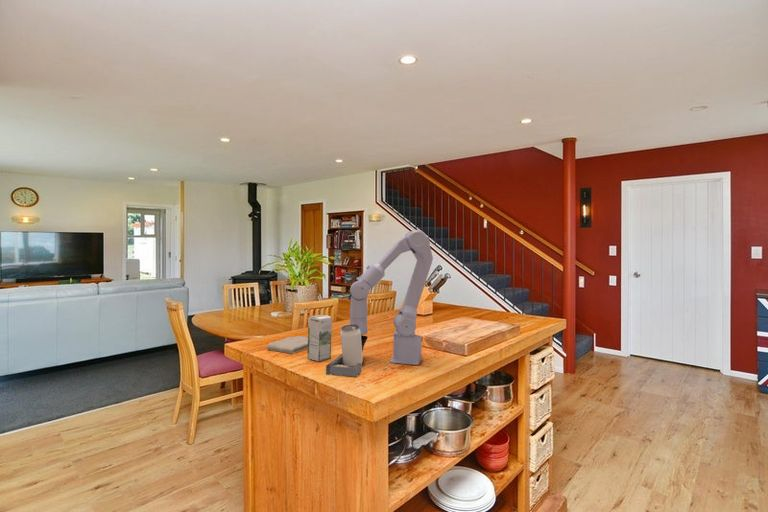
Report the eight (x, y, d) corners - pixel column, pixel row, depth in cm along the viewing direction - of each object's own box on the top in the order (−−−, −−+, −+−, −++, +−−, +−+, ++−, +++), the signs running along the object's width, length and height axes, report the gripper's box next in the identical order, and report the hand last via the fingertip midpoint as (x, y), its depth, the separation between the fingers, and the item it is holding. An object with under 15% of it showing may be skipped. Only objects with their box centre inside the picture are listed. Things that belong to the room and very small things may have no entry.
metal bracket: (373, 359, 134) (373, 350, 134) (356, 377, 115) (356, 367, 115) (347, 356, 136) (347, 348, 136) (326, 374, 117) (326, 364, 117)
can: (360, 367, 123) (357, 332, 121) (340, 366, 125) (337, 331, 122) (365, 357, 130) (362, 323, 127) (346, 357, 131) (343, 323, 128)
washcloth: (322, 345, 154) (322, 337, 154) (292, 356, 137) (292, 347, 137) (297, 341, 159) (297, 333, 159) (266, 351, 143) (266, 343, 143)
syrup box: (319, 355, 137) (320, 314, 137) (331, 358, 133) (332, 316, 133) (307, 358, 133) (307, 316, 132) (318, 362, 129) (319, 318, 129)
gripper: (354, 313, 138) (353, 351, 139) (339, 320, 124) (338, 363, 124) (373, 314, 137) (372, 353, 137) (360, 322, 122) (359, 365, 123)
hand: (357, 358), depth 131 cm, fingers closed, pressing on can
